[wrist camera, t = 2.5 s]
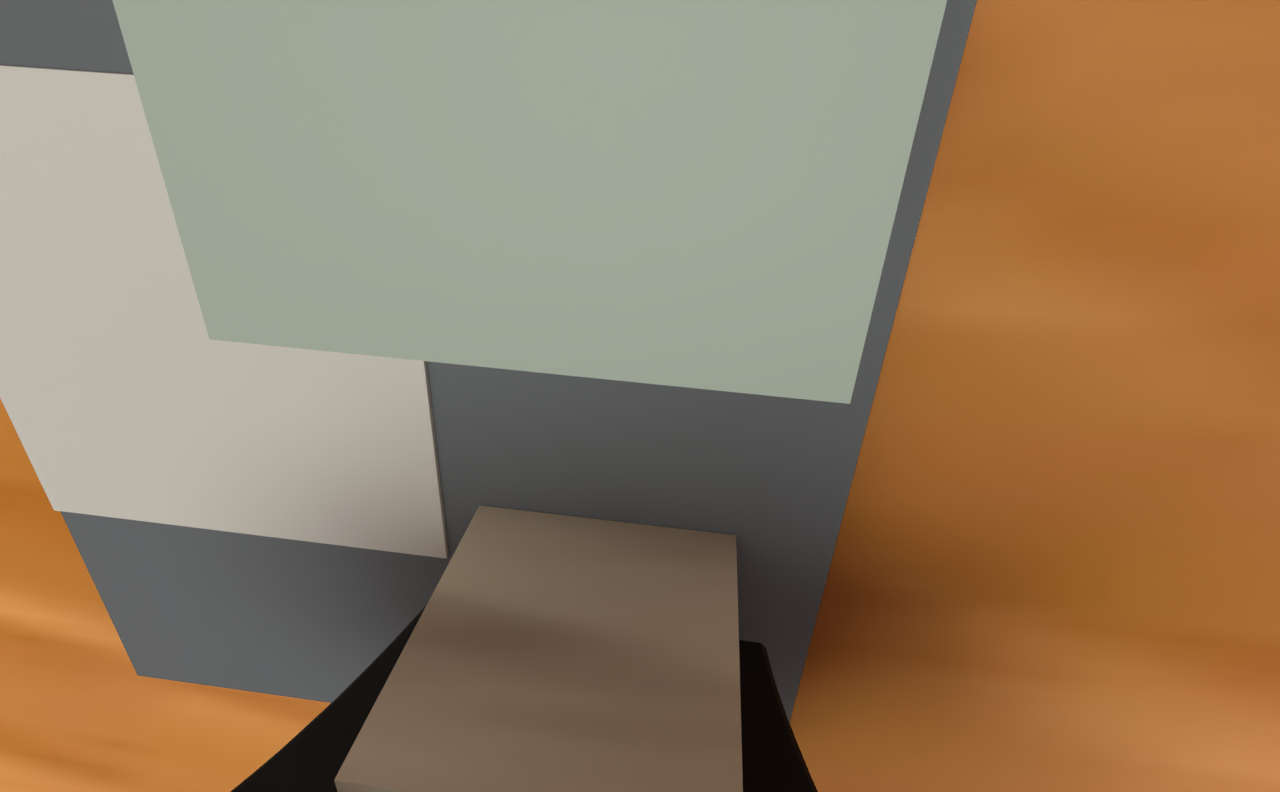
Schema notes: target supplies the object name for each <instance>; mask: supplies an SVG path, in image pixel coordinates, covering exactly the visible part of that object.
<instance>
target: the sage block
mask: <svg viewBox="0 0 1280 792" xmlns="http://www.w3.org/2000/svg"><path fill="white" fill-rule="evenodd" d="M112 1H113V4H114V8H115V11H116V15H117V18H118V22H119V25H120V29H121V32H122V36H123V39H124V43H125V46H126V50H127V53H128V57H129V60H130V63H131V67H132V70H133V74H134V77H135V81H136V84H137V88H138V91H139V95H140V98H141V102H142V105H143V109H144V112H145V116H146V119H147V123H148V126H149V130H150V133H151V137H152V140H153V144H154V147H155V151H156V154H157V158H158V161H159V165H160V168H161V172H162V175H163V179H164V182H165V186H166V189H167V193H168V196H169V200H170V203H171V207H172V210H173V214H174V217H175V221H176V224H177V228H178V231H179V235H180V238H181V242H182V245H183V249H184V252H185V256H186V259H187V263H188V266H189V270H190V273H191V277H192V280H193V284H194V287H195V291H196V294H197V298H198V301H199V305H200V308H201V312H202V315H203V318H204V322H205V325H206V329H207V332H208V336H209V339H211V340H221V341H231V342H241V343H251V344H261V345H271V346H280V347H290V348H300V349H310V350H320V351H330V352H340V353H350V354H360V355H370V356H380V357H390V358H400V359H409V360H419V361H429V362H439V363H449V364H459V365H469V366H479V367H489V368H499V369H509V370H519V371H529V372H538V373H548V374H558V375H568V376H578V377H588V378H598V379H608V380H618V381H628V382H638V383H648V384H657V385H667V386H677V387H687V388H697V389H707V390H717V391H727V392H737V393H747V394H757V395H767V396H777V397H786V398H796V399H806V400H816V401H826V402H836V403H846V404H850V402H851V397H852V393H853V389H854V385H855V381H856V377H857V373H858V368H859V364H860V360H861V356H862V352H863V348H864V343H865V339H866V335H867V331H868V327H869V323H870V319H871V314H872V310H873V306H874V302H875V298H876V294H877V289H878V285H879V281H880V277H881V273H882V269H883V265H884V260H885V256H886V252H887V248H888V244H889V240H890V235H891V231H892V227H893V223H894V219H895V215H896V211H897V206H898V202H899V198H900V194H901V190H902V186H903V182H904V177H905V173H906V169H907V165H908V161H909V157H910V152H911V148H912V144H913V140H914V136H915V132H916V128H917V123H918V119H919V115H920V111H921V107H922V103H923V98H924V94H925V90H926V86H927V82H928V78H929V74H930V69H931V65H932V61H933V57H934V53H935V49H936V44H937V40H938V36H939V32H940V28H941V24H942V20H943V15H944V11H945V7H946V3H947V0H112Z"/></svg>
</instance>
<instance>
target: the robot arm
mask: <svg viewBox="0 0 1280 792" xmlns="http://www.w3.org/2000/svg"><path fill="white" fill-rule="evenodd" d="M426 606H427V604H426ZM426 606H425V607H426ZM425 607H424V608H423V609H422V610H421V611H420V612H419V613H418V614H417V615H416V617H415V618H414V619H413V620H412V621H411V622H410V623H409V624H408V625H407V626H406V627H405V628H404V630H403V631H402V632H401V633H400V634H399V635H398V636H397V637H396V638H395V639H394V640H393V641H392V642H391V643H390V645H389V646H388V647H387V648H386V649H385V650H384V651H383V652H382V653H381V654H380V655H379V656H378V657H377V658H376V659H375V660H374V661H373V662H372V663H371V664H370V665H369V666H368V667H367V668H366V669H365V670H364V671H363V672H362V673H361V674H360V675H359V676H358V677H357V678H356V679H355V680H354V681H353V682H352V683H351V684H350V685H349V686H348V687H347V688H346V689H345V690H344V691H343V692H342V693H341V694H340V695H339V696H338V697H337V698H336V699H335V700H334V701H333V702H332V703H331V704H330V705H329V706H328V707H327V708H326V709H325V710H324V711H323V712H321V713H320V714H319V715H318V716H317V717H316V718H315V719H314V720H313V721H312V722H311V723H309V724H308V725H307V726H306V727H305V728H304V729H303V730H302V731H301V732H300V733H299V734H297V735H296V736H295V737H294V738H293V739H292V740H291V741H290V742H289V743H288V744H287V745H285V746H284V747H283V748H282V749H281V750H280V751H279V752H278V753H276V754H275V755H274V756H273V757H272V758H271V759H269V760H268V761H267V762H266V763H265V764H264V765H262V766H261V767H260V768H259V769H258V770H256V771H255V772H254V773H253V774H252V775H251V776H249V777H248V778H247V779H246V780H244V781H243V782H242V783H241V784H239V785H238V786H237V787H236V788H235V789H233V790H232V791H231V792H337V788H336V785H335V781H334V779H335V778H336V776H337V774H338V772H339V770H340V768H341V766H342V764H343V762H344V761H345V759H346V757H347V755H348V753H349V751H350V749H351V747H352V745H353V744H354V742H355V740H356V738H357V736H358V734H359V732H360V730H361V728H362V727H363V725H364V723H365V721H366V719H367V717H368V715H369V713H370V711H371V709H372V708H373V706H374V704H375V702H376V700H377V698H378V696H379V694H380V692H381V691H382V689H383V687H384V685H385V683H386V681H387V679H388V677H389V675H390V674H391V672H392V670H393V668H394V666H395V664H396V662H397V660H398V658H399V657H400V655H401V653H402V651H403V649H404V647H405V645H406V643H407V641H408V640H409V638H410V636H411V634H412V632H413V630H414V628H415V626H416V624H417V623H418V621H419V619H420V617H421V615H422V613H423V611H424V609H425ZM739 661H740V699H741V737H742V774H743V792H818V791H817V789H816V787H815V785H814V782H813V780H812V778H811V775H810V773H809V771H808V768H807V766H806V763H805V761H804V759H803V756H802V754H801V751H800V749H799V746H798V744H797V742H796V739H795V736H794V734H793V731H792V729H791V726H790V723H789V721H788V718H787V715H786V712H785V709H784V707H783V704H782V701H781V698H780V695H779V692H778V689H777V686H776V683H775V679H774V676H773V673H772V669H771V665H770V662H769V658H768V654H767V649H766V648H765V646H764V645H763V644H762V643H759V642H751V641H743V640H739Z"/></svg>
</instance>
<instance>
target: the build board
mask: <svg viewBox="0 0 1280 792" xmlns="http://www.w3.org/2000/svg"><path fill="white" fill-rule="evenodd" d="M976 2H977V0H947V3H946V7H945V11H944V15H943V20H942V24H941V28H940V32H939V36H938V40H937V44H936V49H935V53H934V57H933V61H932V65H931V69H930V74H929V78H928V82H927V86H926V90H925V94H924V98H923V103H922V107H921V111H920V115H919V119H918V123H917V128H916V132H915V136H914V140H913V144H912V148H911V152H910V157H909V161H908V165H907V169H906V173H905V177H904V182H903V186H902V190H901V194H900V198H899V202H898V206H897V211H896V215H895V219H894V223H893V227H892V231H891V235H890V240H889V244H888V248H887V252H886V256H885V260H884V265H883V269H882V273H881V277H880V281H879V285H878V289H877V294H876V298H875V302H874V306H873V310H872V314H871V319H870V323H869V327H868V331H867V335H866V339H865V343H864V348H863V352H862V356H861V360H860V364H859V368H858V373H857V377H856V381H855V385H854V389H853V393H852V397H851V402H850V404H846V403H836V402H826V401H816V400H806V399H796V398H786V397H777V396H767V395H757V394H747V393H737V392H727V391H717V390H707V389H697V388H687V387H677V386H667V385H657V384H648V383H638V382H628V381H618V380H608V379H598V378H588V377H578V376H568V375H558V374H548V373H538V372H529V371H519V370H509V369H499V368H489V367H479V366H469V365H459V364H449V363H439V362H429V361H419V360H409V359H400V358H390V357H380V356H370V355H360V354H350V353H340V352H330V351H320V350H310V349H300V348H290V347H280V346H271V345H261V344H251V343H241V342H231V341H221V340H211V339H209V336H208V332H207V329H206V325H205V322H204V318H203V315H202V312H201V308H200V305H199V301H198V298H197V294H196V291H195V287H194V284H193V280H192V277H191V273H190V270H189V266H188V263H187V259H186V256H185V252H184V249H183V245H182V242H181V238H180V235H179V231H178V228H177V224H176V221H175V217H174V214H173V210H172V207H171V203H170V200H169V196H168V193H167V189H166V186H165V182H164V179H163V175H162V172H161V168H160V165H159V161H158V158H157V154H156V151H155V147H154V144H153V140H152V137H151V133H150V130H149V126H148V123H147V119H146V116H145V112H144V109H143V105H142V102H141V98H140V95H139V91H138V88H137V84H136V81H135V77H134V74H133V70H132V67H131V63H130V60H129V57H128V53H127V50H126V46H125V43H124V39H123V36H122V32H121V29H120V25H119V22H118V18H117V15H116V11H115V8H114V4H113V1H112V0H0V398H1V400H2V402H3V404H4V406H5V409H6V411H7V413H8V415H9V417H10V419H11V421H12V423H13V425H14V427H15V430H16V432H17V434H18V436H19V438H20V440H21V442H22V444H23V446H24V448H25V451H26V453H27V455H28V457H29V459H30V461H31V463H32V465H33V467H34V469H35V472H36V474H37V476H38V478H39V480H40V482H41V484H42V486H43V488H44V490H45V492H46V495H47V497H48V499H49V501H50V503H51V505H52V507H53V509H54V510H56V511H61V514H62V516H63V518H64V520H65V522H66V524H67V526H68V528H69V531H70V533H71V535H72V537H73V539H74V541H75V543H76V545H77V547H78V550H79V552H80V554H81V556H82V558H83V560H84V562H85V564H86V567H87V569H88V571H89V573H90V575H91V577H92V579H93V581H94V584H95V586H96V588H97V590H98V592H99V594H100V596H101V598H102V601H103V603H104V605H105V607H106V609H107V611H108V613H109V615H110V618H111V620H112V622H113V624H114V626H115V628H116V630H117V632H118V635H119V637H120V639H121V641H122V643H123V645H124V647H125V649H126V651H127V654H128V656H129V658H130V660H131V662H132V664H133V666H134V668H135V671H136V673H137V675H139V676H146V677H153V678H160V679H167V680H174V681H181V682H188V683H196V684H203V685H210V686H217V687H224V688H231V689H238V690H245V691H252V692H259V693H266V694H273V695H280V696H288V697H295V698H302V699H309V700H316V701H323V702H330V703H332V702H333V701H334V700H335V699H336V698H337V697H338V696H339V695H340V694H341V693H342V692H343V691H344V690H345V689H346V688H347V687H348V686H349V685H350V684H351V683H352V682H353V681H354V680H355V679H356V678H357V677H358V676H359V675H360V674H361V673H362V672H363V671H364V670H365V669H366V668H367V667H368V666H369V665H370V664H371V663H372V662H373V661H374V660H375V659H376V658H377V657H378V656H379V655H380V654H381V653H382V652H383V651H384V650H385V649H386V648H387V647H388V646H389V645H390V643H391V642H392V641H393V640H394V639H395V638H396V637H397V636H398V635H399V634H400V633H401V632H402V631H403V630H404V628H405V627H406V626H407V625H408V624H409V623H410V622H411V621H412V620H413V619H414V618H415V617H416V615H417V614H418V613H419V612H420V611H421V610H422V609H423V608H424V607H425V606H426V604H428V602H429V600H430V598H431V596H432V594H433V592H434V590H435V589H436V587H437V585H438V583H439V581H440V579H441V577H442V575H443V573H444V572H445V570H446V568H447V566H448V564H449V562H450V560H451V558H452V556H453V555H454V553H455V551H456V549H457V547H458V545H459V543H460V541H461V539H462V538H463V536H464V534H465V532H466V530H467V528H468V526H469V524H470V522H471V520H472V519H473V517H474V515H475V513H476V511H477V509H478V507H479V505H481V506H489V507H498V508H507V509H515V510H524V511H532V512H541V513H550V514H558V515H567V516H575V517H584V518H592V519H601V520H610V521H618V522H627V523H635V524H644V525H652V526H661V527H670V528H678V529H687V530H695V531H704V532H713V533H721V534H730V535H736V548H737V586H738V624H739V640H743V641H751V642H759V643H762V644H763V645H764V646H765V648H766V649H767V654H768V658H769V662H770V665H771V669H772V673H773V676H774V679H775V683H776V686H777V689H778V692H779V695H780V698H781V701H782V704H783V707H784V709H785V712H786V715H787V718H788V721H789V722H790V718H791V714H792V710H793V707H794V703H795V699H796V695H797V691H798V687H799V684H800V680H801V676H802V672H803V668H804V664H805V660H806V657H807V653H808V649H809V645H810V641H811V637H812V633H813V630H814V626H815V622H816V618H817V614H818V610H819V607H820V603H821V599H822V595H823V591H824V587H825V583H826V580H827V576H828V572H829V568H830V564H831V560H832V556H833V553H834V549H835V545H836V541H837V537H838V533H839V529H840V526H841V522H842V518H843V514H844V510H845V506H846V502H847V499H848V495H849V491H850V487H851V483H852V479H853V476H854V472H855V468H856V464H857V460H858V456H859V452H860V449H861V445H862V441H863V437H864V433H865V429H866V425H867V422H868V418H869V414H870V410H871V406H872V402H873V398H874V395H875V391H876V387H877V383H878V379H879V375H880V372H881V368H882V364H883V360H884V356H885V352H886V348H887V345H888V341H889V337H890V333H891V329H892V325H893V321H894V318H895V314H896V310H897V306H898V302H899V298H900V295H901V291H902V287H903V283H904V279H905V275H906V271H907V268H908V264H909V260H910V256H911V252H912V248H913V244H914V241H915V237H916V233H917V229H918V225H919V221H920V217H921V214H922V210H923V206H924V202H925V198H926V194H927V191H928V187H929V183H930V179H931V175H932V171H933V167H934V164H935V160H936V156H937V152H938V148H939V144H940V140H941V137H942V133H943V129H944V125H945V121H946V117H947V113H948V110H949V106H950V102H951V98H952V94H953V90H954V87H955V83H956V79H957V75H958V71H959V67H960V63H961V60H962V56H963V52H964V48H965V44H966V40H967V36H968V33H969V29H970V25H971V21H972V17H973V13H974V9H975V6H976Z"/></svg>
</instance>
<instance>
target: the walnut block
mask: <svg viewBox="0 0 1280 792" xmlns="http://www.w3.org/2000/svg"><path fill="white" fill-rule="evenodd" d="M334 781H335V785H336V788H337V792H743V774H742V737H741V699H740V661H739V624H738V586H737V548H736V535H730V534H721V533H713V532H704V531H695V530H687V529H678V528H670V527H661V526H652V525H644V524H635V523H627V522H618V521H610V520H601V519H592V518H584V517H575V516H567V515H558V514H550V513H541V512H532V511H524V510H515V509H507V508H498V507H489V506H481V505H479V507H478V509H477V511H476V513H475V515H474V517H473V519H472V520H471V522H470V524H469V526H468V528H467V530H466V532H465V534H464V536H463V538H462V539H461V541H460V543H459V545H458V547H457V549H456V551H455V553H454V555H453V556H452V558H451V560H450V562H449V564H448V566H447V568H446V570H445V572H444V573H443V575H442V577H441V579H440V581H439V583H438V585H437V587H436V589H435V590H434V592H433V594H432V596H431V598H430V600H429V602H428V604H427V606H426V607H425V609H424V611H423V613H422V615H421V617H420V619H419V621H418V623H417V624H416V626H415V628H414V630H413V632H412V634H411V636H410V638H409V640H408V641H407V643H406V645H405V647H404V649H403V651H402V653H401V655H400V657H399V658H398V660H397V662H396V664H395V666H394V668H393V670H392V672H391V674H390V675H389V677H388V679H387V681H386V683H385V685H384V687H383V689H382V691H381V692H380V694H379V696H378V698H377V700H376V702H375V704H374V706H373V708H372V709H371V711H370V713H369V715H368V717H367V719H366V721H365V723H364V725H363V727H362V728H361V730H360V732H359V734H358V736H357V738H356V740H355V742H354V744H353V745H352V747H351V749H350V751H349V753H348V755H347V757H346V759H345V761H344V762H343V764H342V766H341V768H340V770H339V772H338V774H337V776H336V778H335V779H334Z"/></svg>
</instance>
